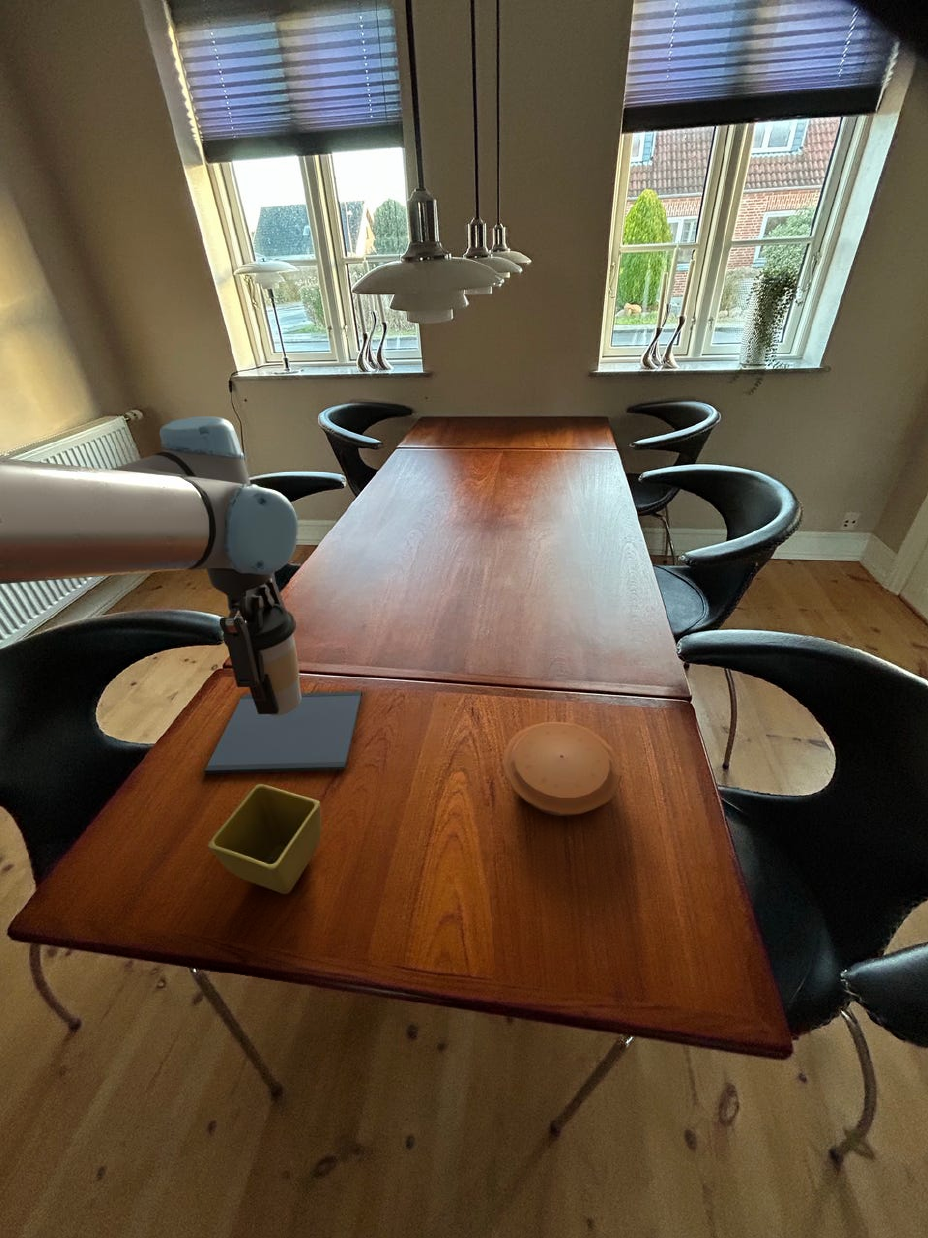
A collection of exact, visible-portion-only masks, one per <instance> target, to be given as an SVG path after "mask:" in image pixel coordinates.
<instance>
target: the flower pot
mask: <svg viewBox="0 0 928 1238" xmlns="http://www.w3.org/2000/svg"><path fill="white" fill-rule="evenodd" d="M322 828H323V827H322V814H321V802H320V801H319V800H317V799H313V798H311V797H307V796H305V795H303V796H302V795H300V794H297V793H293V792H290V791H286V790H284V789H280V788H276V787H273V786H270V785H267V784H264V783H263V784H262V783H258V784H257V785H255V786H254V787H253V788H252V790H250V792H249V793H248V794H247V795H246V797H245V798H244V799H243V800H242V802H241V803H240V804H239V805H238V806H237V807H236V809H234V811H233V812H232V814H231V815H230V816H229V817H228V818H227V820H226V821H225V822H224V823H223V825H221V827H220V828H219V829H218V830H217V831H216V833H215V834H214V835H213V837H212V838H211V839H210V841H209V843H208V844H207V847H208V848H209V849H210V850H211V852H212V853H213V855H214V856H215V857H216V858H217V860H219V862H220V863H221V864H222V866H223V867H224V868H225V869H226V870H227V872H229V873H230V874H232V875H234V876H235V877H237V878H239V879H242V880H244V881H246V882H248V883H249V882H250V883H252V884H255V885H257V886H260V887H263V888H266V889H268V890H271V891H274V892H277V893H278V894H281V895H288V894H289V893H290V892H291V891H292V890H293V888H294V887H295V885H296V883H297V882H298V881H299V879H300V877H301V876H302V874H303V872H304V871H305V870H306V868H307V866H308V865H309V863H310V862H311V860H312V859H313V857H314V855H315V854H316V851H317V849H318V846H319V844H320V840H321V837H322Z"/></svg>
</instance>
